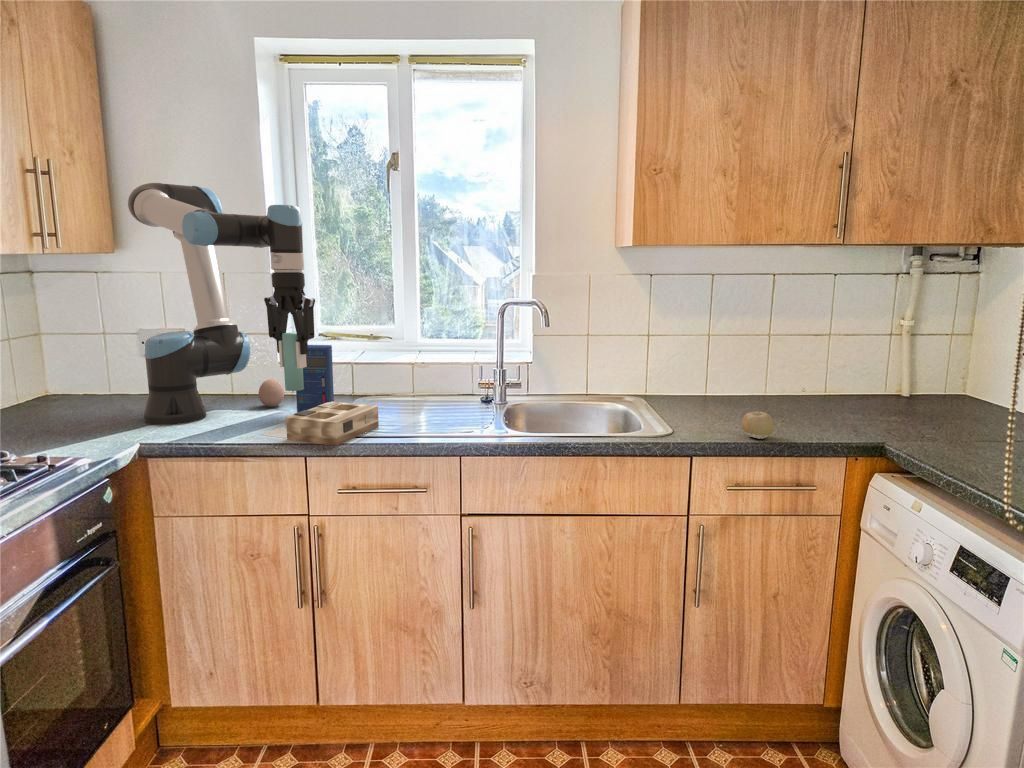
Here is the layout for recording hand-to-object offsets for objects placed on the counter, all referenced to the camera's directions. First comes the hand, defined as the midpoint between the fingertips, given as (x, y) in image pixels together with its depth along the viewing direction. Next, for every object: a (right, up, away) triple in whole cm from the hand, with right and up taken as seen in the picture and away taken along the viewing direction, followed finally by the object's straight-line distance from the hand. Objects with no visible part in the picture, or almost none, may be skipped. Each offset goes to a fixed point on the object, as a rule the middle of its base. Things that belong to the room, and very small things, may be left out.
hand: (293, 366), depth 160 cm
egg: (-17, -11, +32) cm, 38 cm away
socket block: (+9, -17, +3) cm, 20 cm away
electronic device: (-1, -14, +22) cm, 26 cm away
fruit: (+117, -18, +6) cm, 119 cm away
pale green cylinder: (0, -6, +1) cm, 6 cm away
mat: (-3, -17, +3) cm, 18 cm away
